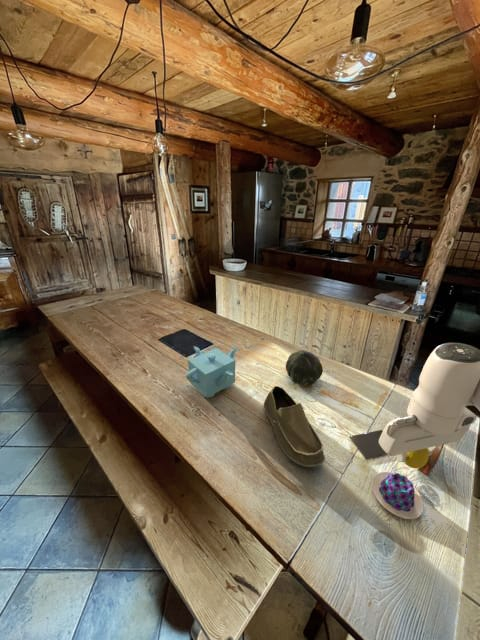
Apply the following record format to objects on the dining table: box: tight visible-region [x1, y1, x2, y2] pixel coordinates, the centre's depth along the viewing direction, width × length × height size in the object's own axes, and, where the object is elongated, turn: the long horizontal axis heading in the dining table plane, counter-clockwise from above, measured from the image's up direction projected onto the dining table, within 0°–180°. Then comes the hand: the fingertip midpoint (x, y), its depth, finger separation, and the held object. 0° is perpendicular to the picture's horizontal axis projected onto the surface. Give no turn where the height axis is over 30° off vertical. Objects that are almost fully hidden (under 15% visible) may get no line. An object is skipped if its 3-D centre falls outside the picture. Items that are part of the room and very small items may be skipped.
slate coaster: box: [349, 429, 388, 460], centre depth 84 cm, size 12×8×1 cm, turn 103°
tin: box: [416, 444, 445, 477], centre depth 77 cm, size 15×3×8 cm, turn 134°
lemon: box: [403, 448, 429, 469], centre depth 63 cm, size 6×6×8 cm
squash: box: [285, 349, 324, 386], centre depth 110 cm, size 14×15×15 cm
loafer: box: [263, 385, 326, 468], centre depth 85 cm, size 11×30×10 cm, turn 23°
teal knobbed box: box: [185, 345, 239, 398], centre depth 105 cm, size 19×19×15 cm
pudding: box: [371, 471, 424, 520], centre depth 69 cm, size 12×12×5 cm
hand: (413, 456), depth 63 cm, fingers closed on lemon, 5 cm apart
